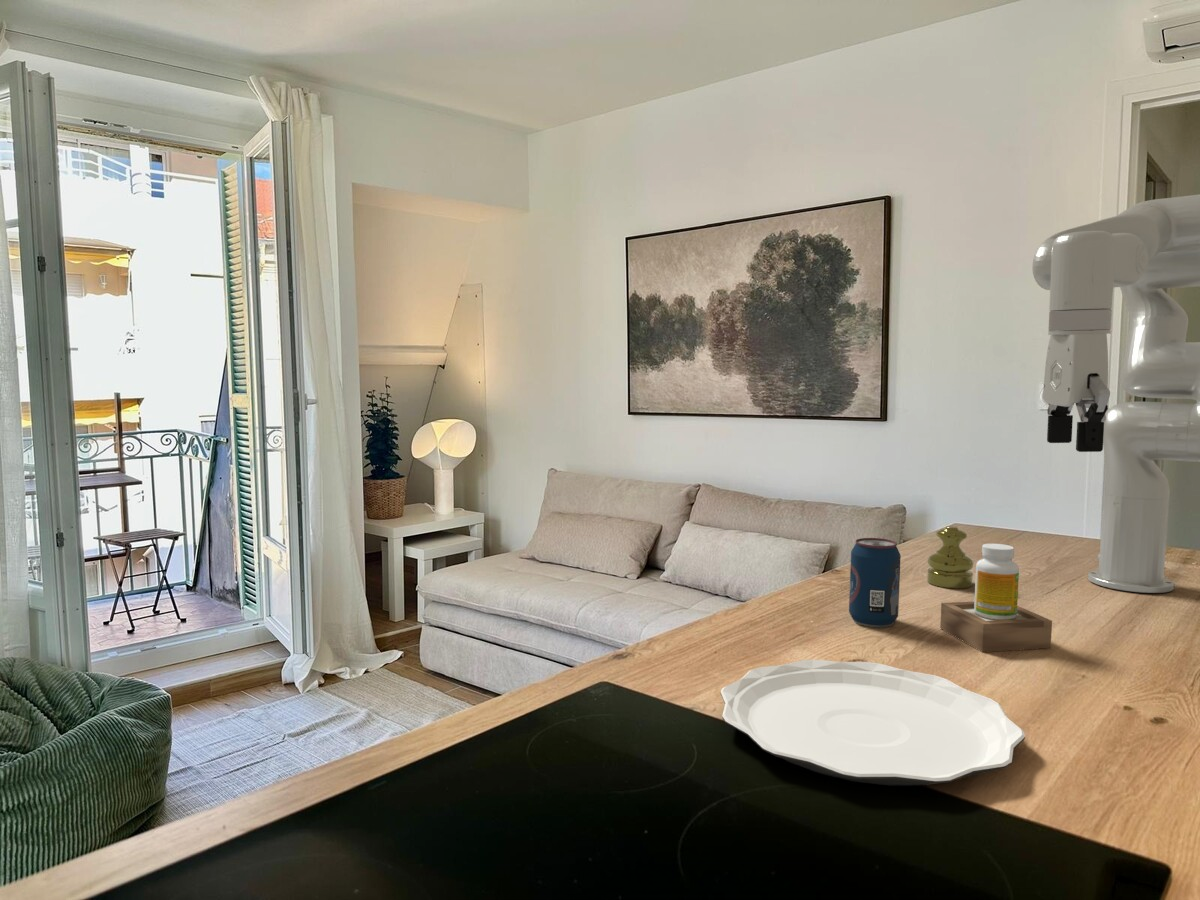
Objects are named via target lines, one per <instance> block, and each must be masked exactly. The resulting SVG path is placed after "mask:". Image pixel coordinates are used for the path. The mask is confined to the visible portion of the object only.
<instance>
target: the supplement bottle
mask: <svg viewBox="0 0 1200 900" xmlns="http://www.w3.org/2000/svg"><path fill="white" fill-rule="evenodd" d="M981 548H982V549H981V553H982V555H981V556H983V558H982V559H980V560H978V561H977V562H976V563H975V564H976V565H975V579H974V580H975V581H974V582H975V583H974V584H975V585H974V599H973V600H974V601H973V602H974V612H975V613H976V614H977V615H979V616H981V617H984V618H988V619H994V620H1011V619H1014V618H1016V616H1017V606H1018V599H1019V575H1020V568H1019V565H1018V564H1017V563H1016V562H1014V561H1013V559H1014V557H1015V547H1013V546H1012V545H1008V544H1002V543H984V544H982V547H981Z"/></svg>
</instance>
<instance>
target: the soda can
mask: <svg viewBox="0 0 1200 900" xmlns="http://www.w3.org/2000/svg"><path fill="white" fill-rule="evenodd" d="M901 558H902V557H901V553H900V551H899V549H898V545H897V542H896V541H894V540H890V539H886V538H880V537H877V538H876V537H863V538H861V537H860V538H858V539H857V538H856V539H855V544H854V546H853V547H852V549H851V551H850V571H849V572H850V574H849V597H848V599H849V601H848V613H849V614H850V617H851V618H852V620H853V622H854V623H856V624H858V625H860V626H863V625H864V627H868V626H871V627H870V628H888V626H889V627H891V626H893V625H894V624H895V622H896V620H897V619H898V618H899V611H900V609H899V606H900V605H899V604H900V581H901V579H900V578H901ZM892 624H893V625H892Z"/></svg>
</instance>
